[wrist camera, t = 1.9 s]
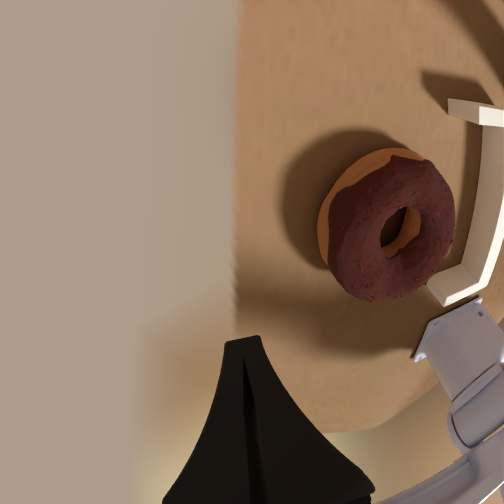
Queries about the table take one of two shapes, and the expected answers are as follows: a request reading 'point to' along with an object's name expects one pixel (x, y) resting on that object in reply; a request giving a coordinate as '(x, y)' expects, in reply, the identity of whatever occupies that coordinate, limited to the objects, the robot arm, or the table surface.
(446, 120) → the table surface
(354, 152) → the table surface
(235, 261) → the table surface
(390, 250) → the donut
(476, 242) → the stop
